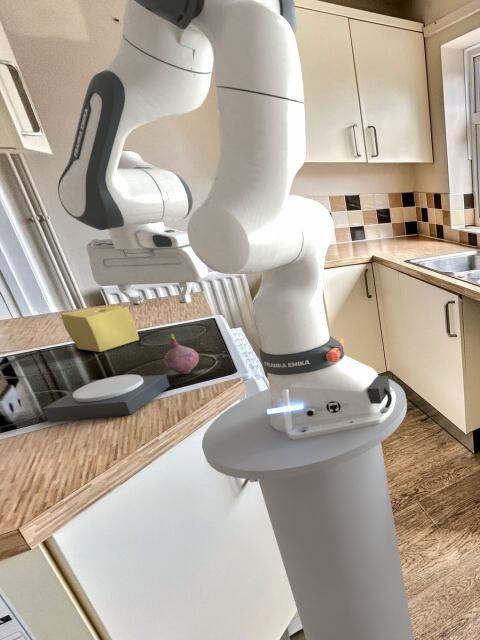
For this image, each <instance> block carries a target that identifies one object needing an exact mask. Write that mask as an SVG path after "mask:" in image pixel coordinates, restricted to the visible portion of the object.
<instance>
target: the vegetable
mask: <svg viewBox="0 0 480 640" xmlns="http://www.w3.org/2000/svg"><path fill="white" fill-rule="evenodd" d="M169 340H170V341H169V342H170V345H171V348H170V349H169V350H168V351H167V352H166V353H165V355H164V357H163V364H164V365H165V366H166V368H167V369H168V370H170V371H173V372H176V373H178V374H182V375H185V374H186V375H187V374H190V373H191V372H192V370H194V368H196V367H197V365H198V363H199V361H200V356H199V353H198V352H197V351H196V350H195V349H193V348H191V347H189V346H185V345H181V344H179V343H178V342H177V340H176V338H175V334H173V333H171V334H170V335H169ZM186 375H185V376H186Z"/></svg>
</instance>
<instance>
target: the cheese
mask: <svg viewBox="0 0 480 640" xmlns="http://www.w3.org/2000/svg"><path fill="white" fill-rule="evenodd" d="M129 309H130V308H129V307H128V306H122V305H110V306H105V307H91V308H86V309H80V310H73V311H69V312H64V313H62V314H61V320H62V323H63V326H64V328H65V331H66V332H67V334H68V335H69V337H70V338H71V340H72V342H73V343H74V344H75V346H76V348H77V349H78V350H83V351H91V352H96V353H97V352H98V353H101V352H105V351H108V350H112V349H115V348H118V347H121V346H123V345H128V344H130V343H133V342H137V341H139V340H140V337H139V334H138V331H137V327H136V324H135V322H134V320H133V316H132V314H131V311H130V310H129Z"/></svg>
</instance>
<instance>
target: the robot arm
mask: <svg viewBox="0 0 480 640" xmlns="http://www.w3.org/2000/svg"><path fill="white" fill-rule="evenodd" d="M297 26H298V14H297V8H296V4H295V0H126V2H125V7H124V14H123V22H122V31H121V32H122V33H121V42H120V45H119V48H118V51H117V53H116V55H115V56H114V58H113V60H112V61H111V63H110V64H109V65H108V66H107V67H106V68H105V69H104V70H102V71H100V72H98V73H96V74H95V75H93V76H92V78H91V79H90V81H89V83H88V86H87V90H86V93H85V96H84V98H83V99H84V100H83V103H82V107H81V111H80V114H79V118H78V123H77V128H76V132H75V135H74V140H73V144H72V148H71V152H70V157H69V159H68V162H67V164H66V166H65V168H64V170H63V171H62V173H61V175H60V178H59V180H58V184H57V194H58V199H59V201H60V204H61V205H62V207H63V210H65V212H66V213H67V214H68V215H69V216H71V217H72V218H73V219H75V220H77V221H78V222H80V223H82V224H84V225H86V226H88V227H91V228H92V229H95V230H98V231H106V230H107V231H108V234H109V236H110V238H105V239H91V240H90V241H89V242H88V243H87V245H86V247H85V249H86V252H87V255H88V257H89V263H90V264H89V265H90V270H91V273H92V277H93V281H94V282H95V283H97V284H98V285H99V286H101V287H111V286H112V287H113V286H114V287H115V286H117V288H118V291H119V292H121V293H122V294H123V295H124V296H125V297H126V298H127V299H128V300H129V304H130V305H131V306H133V307H134V306H135V307H136V306H141V305H144V304H145V301H144V298H143V295H138V294H137V293H136V292H135V291H134V290H133V289H134V286H135V285H136V286H137V285H156V284H178V285H179V288H182V291H181V293H180V294H177V296H176V297H177V299H178V302H179V304H189V303H191V302H192V297H191V295H190V294H191V291H192V289H193V286H194V284H193V283H199V282H203V281H204V280H206V279H207V278H208V276H209V269H210V270H213V271H214V272H216V273H218V274H224V275H251V274H258V273H262V275H261V282H260V285H259V289H258V291H257V292H256V294H255V296H254V297H253V300H252V302H251V307H250V308H251V309H250V310H251V315H252V318H253V322H254V323H253V324H254V327H255V330H256V334H257V338H258V342H259V346H260V348H259V350H258V353H259V356H260V357H259V358H260V363H261V367H262V370H263V373H264V376H265V378H266V379H267V381H268V389H270V400H271V409H268V410H267V412H268V414H270V425H271V427H272V428H274V429H275V430H277V431H280V432H283V433H285V434H286V435H287V437H288V438H289V439H290V440H299V439H304V438H309V437H315V436H320V435H325V434H330V433H336V432H341V431H346V430H352V429H357V428H362V427H367V426H373V425H377V424H380V423H382V422H383V421H384V420H386V419H387V418H388V417H389V415H390V414H391V413H392V411H393V409H394V406H395V402H396V396H395V392H394V390H393V389H392V388H391V387H390V386H389V379H390V378H389V376H388V375H379V374H378V372H377V371H376V370H375V369H374V368H373V367H371V366H369V365H368V364H367V365H366V364H364V363H362V362H360V361H358V360H356V359H354V358H352V357H349V356H348V355H346V354H345V351H344V345H345V342H344V338H343V337H341V338H340V340H337V339H335V338H334V337H332V336H331V335H330V332H329V331H330V330H329V327H328V321H327V315H326V310H325V303H324V293H323V292H324V291H323V290H324V289H323V287H324V272H325V264H326V256H327V253H328V249H329V246H330V245H331V243H332V241H333V239H334V235H335V224H334V220H333V217H332V216H331V214H330V211H328V209H327V208H326V207H325V206H324V205H323V204H322V203H320V202H319V201H316V200H315V199H311V198H308V197H305V196H301V195H296V194H290V192H291V189H292V186H293V182H294V179H295V177H296V175H297V173H298V172H299V170H300V169H301V168H302V167H303V166H304V163H305V162H306V158H307V143H306V142H307V141H306V113H305V112H306V111H305V109H306V108H305V94H304V93H305V91H304V82H303V73H302V67H301V66H302V65H301V60H300V55H299V50H298V46H297V41H296V33H297V28H298V27H297ZM212 74H214V86H215V97H216V107H217V116H218V133H219V154H218V159H217V160H218V161H217V166H216V170H215V174H214V178H213V181H212V184H211V186H210V189H209V192H208V193H207V195H206V197H205V198H204V200H203V201H202V203H201V204H200V205H199V206H198V207H197V208H196V209H195V210H194V211H193V212H192V213H191V211H192V208H193V203H194V202H193V196H192V191H191V189H190V187H189V185H188V184H187V182H186V181H185V180H184V179H183V177H181V176H180V175H178V174H177V173H176V172H174V171H173V170H168V169H164V168H161V167H158V166H155V165H153V164H151V163H148V162H147V161H145V160H144V159H143V158H142V157H141V155H140V154H139V153H137V152H134V151H132V150H130V149H129V150H128V149H124V146H125V143H126V140H127V138H128V136H129V135H130V134H131V133H132V132H133V131H134V130H135V129H137V128H139V127H141V126H143V125H146V124H148V123H151V122H155V121H158V120H163V119H166V118H173V117H179V116H182V115H185V114H189V113H191V112H193V111H195V110H196V109H199V108H200V107H201V106H202V105H203V104H204V102H205V100H206V99H207V96H208V94H209V90H210V87H211V81H212ZM190 213H191V214H190ZM189 215H190V216H189ZM188 216H189V218H188V221H187V228H186V230H187V231H184V230H180V229H176V228H172V227H168V226H165V222H175V221H179V220H183V219H186V218H187V217H188ZM208 268H209V269H208Z"/></svg>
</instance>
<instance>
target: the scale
mask: <svg viewBox="0 0 480 640" xmlns="http://www.w3.org/2000/svg"><path fill="white" fill-rule="evenodd" d="M170 387H171V385H170V382H169V380H168V376H167V374H156V375H143V376H141V375H139V374H122V375H115V376H110V377H106V378H102V379H92V380H91V381H90V382H88V383H86V384H84V385H83V386H81V387H79V388H77V389H75V390H73V391H71V392H69V393H68V394H66V395H64V396H63V397H61V398H58V399H57V400H55V401H53V402H51V403H49V404H47V405H46V406H44V407H42V412H43V414H44V415H45V418H46V419H47V422H48V423H49V422H59V421H71V420H74V421H75V420H84V419H95V418H96V419H97V418H108V417H119V416H120V417H121V416H131V415H132V414H134V413H135V412H137V411H138V410H139V409H141V408H142V407H143V406H145V405H146V404H147V403H149V402H150V401H151V400H153V399H154V398H156V397H157V396H159V395H160V394H161V393H162V392H164V391H166V390H167V389H168V388H170Z"/></svg>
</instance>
